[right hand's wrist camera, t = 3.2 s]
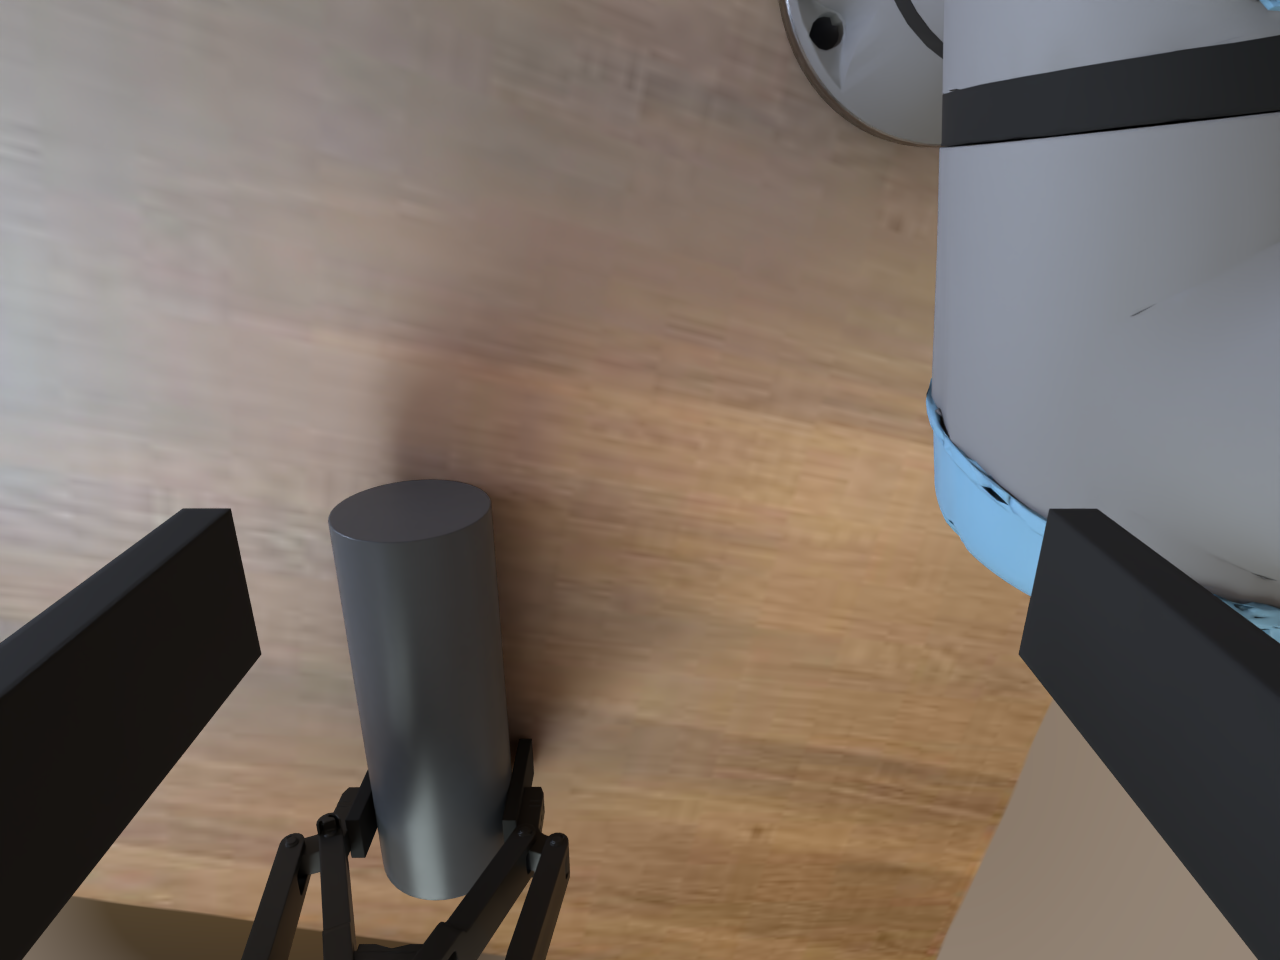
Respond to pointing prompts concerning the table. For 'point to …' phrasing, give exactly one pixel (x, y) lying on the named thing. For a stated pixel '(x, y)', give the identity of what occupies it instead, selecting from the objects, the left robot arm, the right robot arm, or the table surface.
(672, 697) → the table surface
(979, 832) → the table surface
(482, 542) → the rod
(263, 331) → the table surface
